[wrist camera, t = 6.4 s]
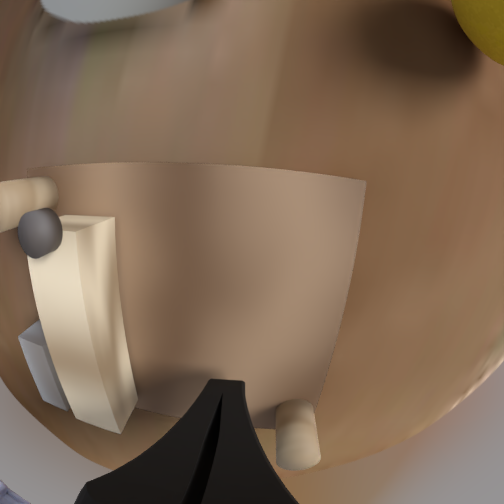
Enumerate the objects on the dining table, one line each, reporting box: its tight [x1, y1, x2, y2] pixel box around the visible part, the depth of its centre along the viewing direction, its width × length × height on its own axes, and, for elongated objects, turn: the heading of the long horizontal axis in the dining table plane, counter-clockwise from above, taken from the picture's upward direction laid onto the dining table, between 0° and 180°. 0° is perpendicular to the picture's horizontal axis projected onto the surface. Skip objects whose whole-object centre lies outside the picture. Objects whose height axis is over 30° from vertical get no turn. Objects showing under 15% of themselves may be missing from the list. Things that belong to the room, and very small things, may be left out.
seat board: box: [0, 162, 366, 470], centre depth 10 cm, size 14×12×4 cm
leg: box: [18, 208, 138, 434], centre depth 9 cm, size 10×2×3 cm, turn 176°
